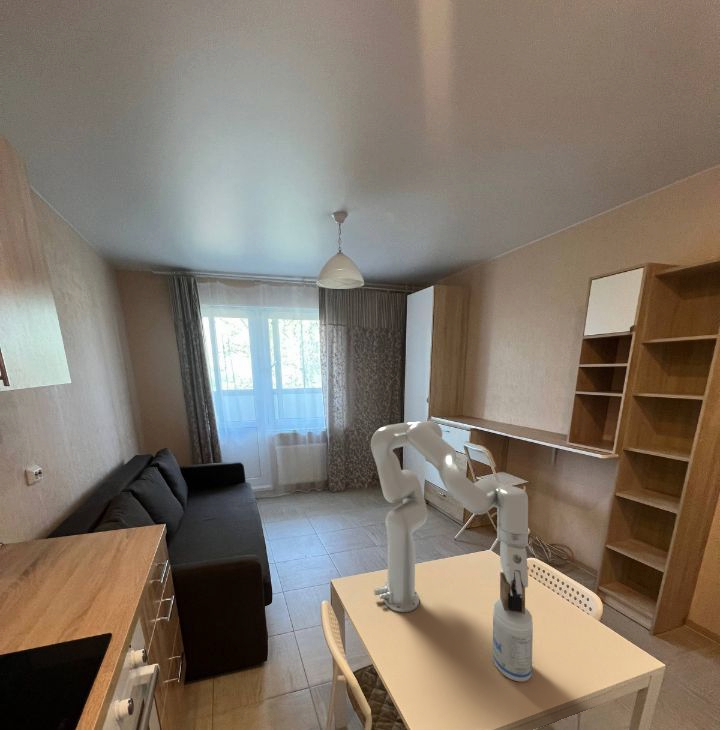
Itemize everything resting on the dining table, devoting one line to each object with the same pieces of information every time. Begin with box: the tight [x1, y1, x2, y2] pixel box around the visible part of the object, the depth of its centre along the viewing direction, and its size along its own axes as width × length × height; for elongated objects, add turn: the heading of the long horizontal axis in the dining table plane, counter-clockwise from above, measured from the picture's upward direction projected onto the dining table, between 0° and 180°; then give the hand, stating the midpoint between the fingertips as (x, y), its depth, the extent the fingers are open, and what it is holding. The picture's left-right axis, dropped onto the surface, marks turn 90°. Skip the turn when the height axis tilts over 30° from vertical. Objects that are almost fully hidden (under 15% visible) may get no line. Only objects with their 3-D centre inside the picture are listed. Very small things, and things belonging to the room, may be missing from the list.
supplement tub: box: [492, 598, 534, 683], centre depth 82 cm, size 10×10×15 cm
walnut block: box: [499, 571, 526, 614], centre depth 83 cm, size 5×5×7 cm
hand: (512, 601), depth 83 cm, fingers closed on walnut block, 4 cm apart
